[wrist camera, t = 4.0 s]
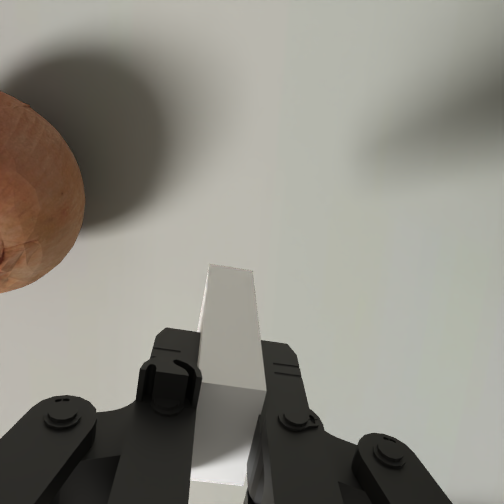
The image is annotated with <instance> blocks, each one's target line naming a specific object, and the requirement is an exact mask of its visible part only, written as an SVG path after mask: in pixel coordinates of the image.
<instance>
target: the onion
mask: <svg viewBox="0 0 504 504" xmlns="http://www.w3.org/2000/svg"><path fill="white" fill-rule="evenodd" d="M84 209H85V193H84V185H83V180H82V176H81V172H80V169H79V166H78V164H77V161H76V159H75V157H74V155H73V153H72V151H71V150H70V148H69V146H68V145H67V143H66V142H65V140H64V139H63V137H62V136H61V135H60V134H59V132H58V131H57V130H56V129H55V128H54V127H53V126H52V125H51V124H50V123H49V122H48V121H47V120H45V119H44V118H43V117H42V116H40V115H39V114H38V113H37V112H35V111H34V110H33V109H32V108H30V105H28V104H25V103H23V102H21V101H19V100H18V99H16V98H14V97H12V96H10V95H8V94H6V93H4V92H1V91H0V293H4V292H8V291H11V290H14V289H18V288H21V287H24V286H26V285H29V284H31V283H33V282H35V281H36V280H38V279H39V278H41V277H42V276H44V275H45V274H47V273H48V272H49V271H50V270H52V269H53V268H54V267H55V266H57V265H58V264H59V263H60V262H61V261H62V260H63V258H64V257H65V256H66V255H67V253H68V252H69V251H70V249H71V248H72V247H73V245H74V243H75V241H76V239H77V237H78V234H79V231H80V229H81V226H82V222H83V216H84Z"/></svg>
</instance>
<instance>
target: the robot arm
mask: <svg viewBox="0 0 504 504" xmlns="http://www.w3.org/2000/svg"><path fill="white" fill-rule="evenodd" d="M246 472H247V480H248V488H247V492H246V496H245V500H244V504H452V502H451V501H450V500H449V498H448V497H447V496H446V494H445V493H444V492H443V491H442V489H441V488H440V487H439V485H438V484H437V483H436V481H435V480H434V479H433V477H432V476H431V475H430V473H429V472H428V471H427V469H426V468H425V467H424V465H423V464H422V463H421V461H420V460H419V459H418V458H417V456H416V455H415V454H414V452H413V451H412V450H411V449H410V448H409V447H408V446H407V445H405V444H404V443H402V442H401V441H399V440H397V439H396V438H394V437H391V436H388V435H385V434H379V433H371V434H367V435H364V436H363V437H362V438H361V439H360V440H359V442H358V445H355V444H353V443H350V442H347V441H344V440H342V439H339V438H337V437H335V436H333V435H330V434H329V433H327V432H326V431H324V427H323V424H322V422H321V420H320V418H319V417H318V416H317V415H316V414H315V413H314V412H313V411H312V410H310V409H309V406H308V402H307V397H306V393H305V389H304V385H303V381H302V378H301V372H300V368H299V364H298V359H297V355H296V354H295V353H294V351H293V350H292V349H291V348H290V347H289V345H288V344H284V343H277V342H270V341H264V340H261V339H260V330H259V322H258V313H257V305H256V296H255V288H254V279H253V271H251V270H244V269H238V268H232V267H226V266H220V265H214V264H209V268H208V274H207V279H206V285H205V291H204V296H203V302H202V308H201V313H200V319H199V325H198V330H197V332H193V331H186V330H180V329H173V328H165V329H164V330H162V331H161V332H160V333H159V334H158V335H157V336H156V338H155V342H154V346H153V349H152V353H151V357H150V360H148V361H146V362H144V364H143V365H142V367H141V368H140V372H139V379H138V387H137V394H136V400H135V401H134V402H133V403H131V404H130V405H128V406H126V407H123V408H121V409H118V410H113V411H106V412H97V413H96V409H95V407H94V406H93V405H92V404H91V403H90V402H89V401H87V400H85V399H83V398H81V397H76V396H69V395H64V396H54V397H51V398H48V399H45V400H42V401H41V402H39V403H38V404H36V405H35V406H33V407H32V408H31V409H30V410H29V411H28V412H27V413H26V414H25V415H24V416H23V417H22V418H21V419H20V420H19V421H18V422H17V423H16V424H15V425H14V426H13V427H12V428H11V429H10V430H9V431H8V432H7V433H6V434H5V435H4V436H3V437H2V438H1V439H0V504H188V499H189V488H190V480H193V481H202V482H211V483H220V484H229V485H238V486H243V485H244V481H245V477H246Z"/></svg>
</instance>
